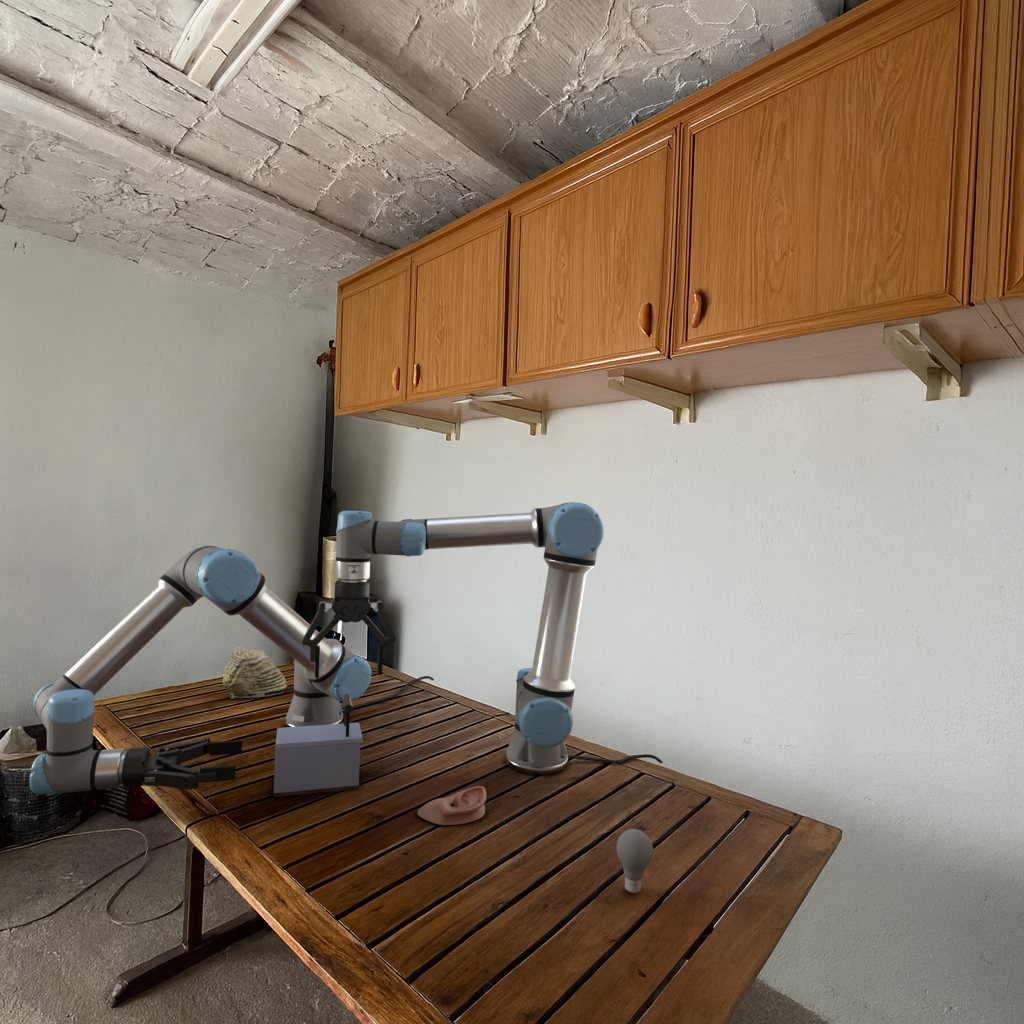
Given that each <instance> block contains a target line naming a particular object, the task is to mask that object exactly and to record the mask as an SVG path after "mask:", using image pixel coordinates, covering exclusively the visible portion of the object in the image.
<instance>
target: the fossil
mask: <svg viewBox="0 0 1024 1024" xmlns="http://www.w3.org/2000/svg"><path fill="white" fill-rule="evenodd" d="M222 676H223V677H222V685H223V687H224V688H225V690H226V691H228V693H229V698H230V699H250V698H264V697H271V696H275V695H281V694H284V693H285V691H286V689H287V687H288V686H287V680H286V678H285V676H284V674H283V673H282V672H281V669H279V668H278V667H277V665H276V663H275V662H274V660H273V659H272V658H271V657H270V656H269V655H268V654H267V653H266V652H265V650H264V649H263V648H260V647H258V648H251V647H247V646H246V647H245V646H238V647H237V648H236V649H235V650H233V651H232V653H231V656H230V657H229V659H228V660H227V663H226V666H225V668H224V671H223V675H222Z"/></svg>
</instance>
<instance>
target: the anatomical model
mask: <svg viewBox="0 0 1024 1024" xmlns="http://www.w3.org/2000/svg"><path fill="white" fill-rule="evenodd" d="M487 796H488V795H487V789H486V788H485V787H484V786H482V785H477V786H473V787H469V788H466V789H463V790H460V791H457V792H456V793H454V794H451V795H448V796H446V797H440V798H436V799H433V800H430V801H429V802H427V803H426V804H424V805H423V806H421V807H420V808H419V809H418V811H416V812H417V816H418V817H419V818H421V819H423V820H425V821H427V822H429V823H432V824H435V825H439V826H454V825H462V824H468V823H471V822H475V821H477V820H479V819H481V818H483V817H484V815H485V813H486V806H485V803H486V802H487Z"/></svg>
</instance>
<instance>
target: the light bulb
mask: <svg viewBox="0 0 1024 1024" xmlns="http://www.w3.org/2000/svg"><path fill="white" fill-rule="evenodd" d="M615 849H616V854H617V857H618V859H619V861H620V863H621V865H622V867H623V873H624V874H623V875H624V876H625V878H624V888H625V890H627V891H628V892H630V893H634V894H635V893H639V892H640V891H641V889H642V887H641V886H642V879H643V877H644V875H645V871H646V868H647V867H648V866H649V864H650V863H651V861H652V859H653V855H654V847H653V843H652V841H651V838H649V836H648V835H647V834H646V833H645V832H643V831H642V830H641V829H636V828H629V829H627V830H625V831H623V832H622V833H621V834H620V835H619V837H618V839H617V841H616V847H615Z"/></svg>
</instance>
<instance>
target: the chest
mask: <svg viewBox="0 0 1024 1024" xmlns="http://www.w3.org/2000/svg"><path fill="white" fill-rule="evenodd" d="M274 749H275V748H274ZM360 764H361V742H359V743H345V744H332V745H319V746H305V747H292V748H278V749H275V750H274V770H273V771H274V774H273V775H274V776H273V795H272V796H273V798H279V797H289V796H291V797H292V796H299V795H309V794H320V793H321V794H322V793H330V792H331V793H332V792H341V791H351V790H359V789H360Z"/></svg>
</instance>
